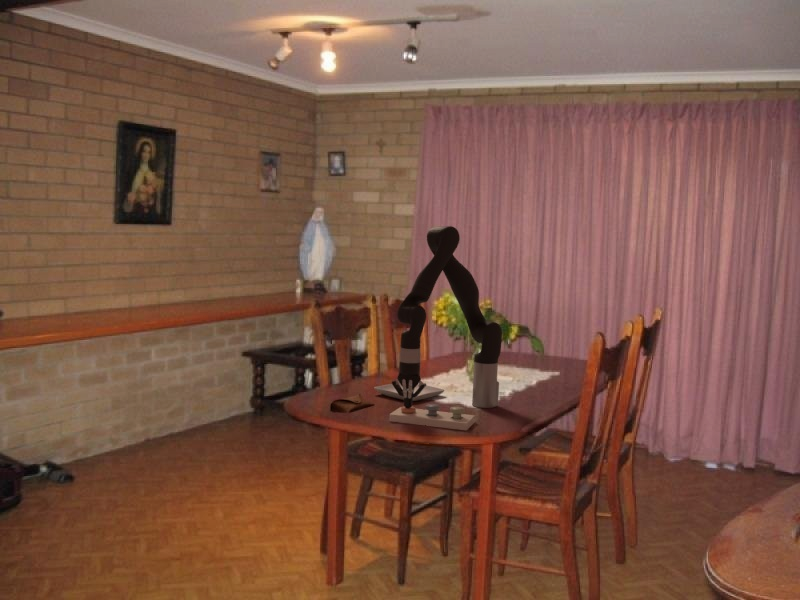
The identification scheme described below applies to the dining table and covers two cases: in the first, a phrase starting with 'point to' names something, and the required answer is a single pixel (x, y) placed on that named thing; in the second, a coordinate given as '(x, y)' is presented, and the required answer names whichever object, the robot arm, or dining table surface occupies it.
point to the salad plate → (424, 394)
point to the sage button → (457, 412)
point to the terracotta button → (408, 410)
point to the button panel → (433, 419)
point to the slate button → (432, 409)
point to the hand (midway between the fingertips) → (407, 407)
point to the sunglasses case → (350, 404)
